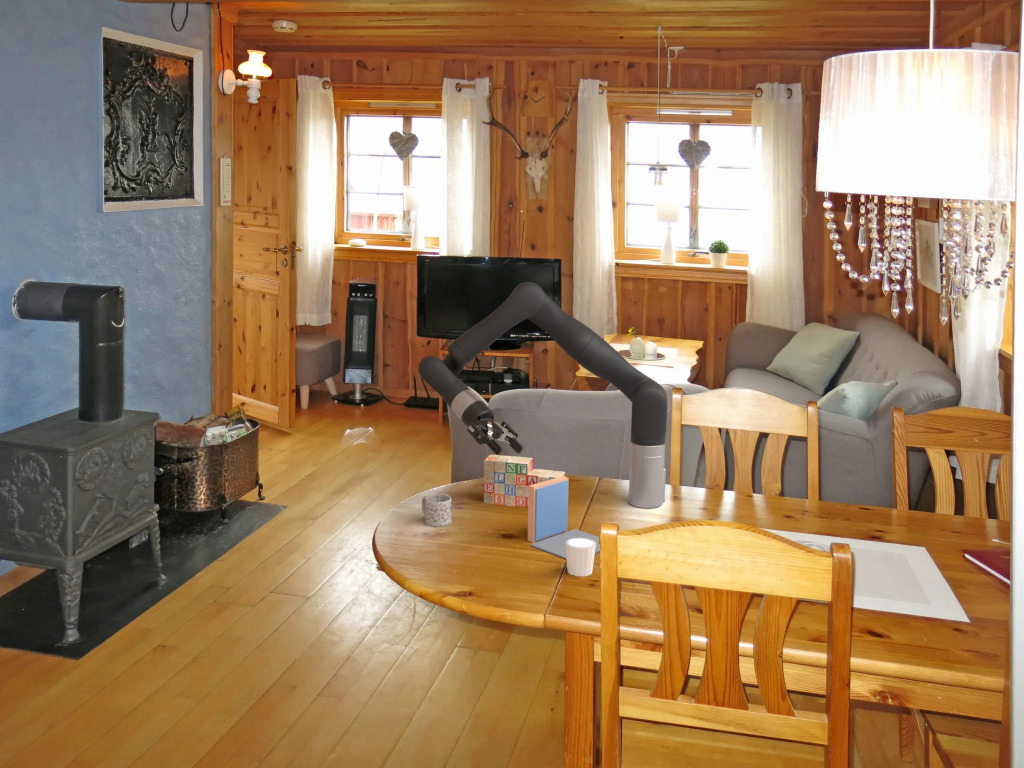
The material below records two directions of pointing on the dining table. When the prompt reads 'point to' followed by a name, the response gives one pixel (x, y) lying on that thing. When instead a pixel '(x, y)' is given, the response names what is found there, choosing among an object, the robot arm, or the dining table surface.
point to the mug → (437, 510)
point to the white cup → (580, 556)
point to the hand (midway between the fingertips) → (510, 451)
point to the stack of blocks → (512, 479)
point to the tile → (547, 508)
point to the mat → (563, 542)
